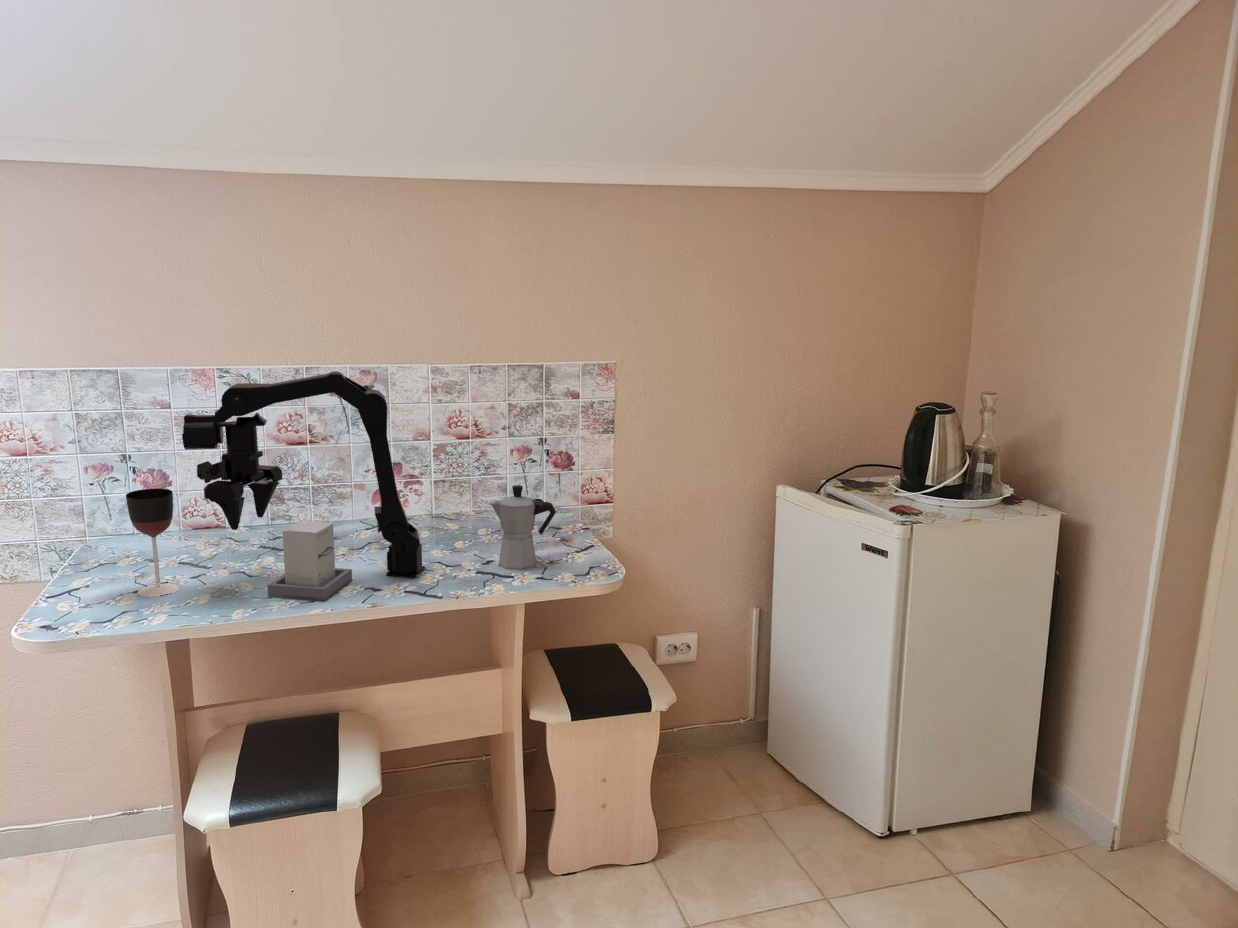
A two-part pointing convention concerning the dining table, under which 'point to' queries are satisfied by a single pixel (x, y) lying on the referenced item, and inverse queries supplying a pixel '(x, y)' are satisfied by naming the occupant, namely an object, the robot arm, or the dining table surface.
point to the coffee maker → (519, 528)
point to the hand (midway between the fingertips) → (247, 523)
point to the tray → (310, 587)
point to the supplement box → (309, 554)
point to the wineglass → (152, 527)
